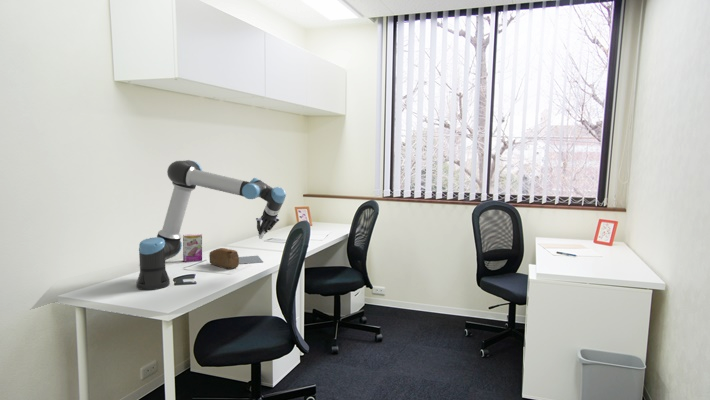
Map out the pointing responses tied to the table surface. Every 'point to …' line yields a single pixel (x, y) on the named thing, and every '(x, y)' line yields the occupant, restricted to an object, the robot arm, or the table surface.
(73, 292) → the table surface
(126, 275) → the table surface
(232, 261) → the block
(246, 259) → the mat
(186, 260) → the candy bar box
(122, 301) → the table surface
